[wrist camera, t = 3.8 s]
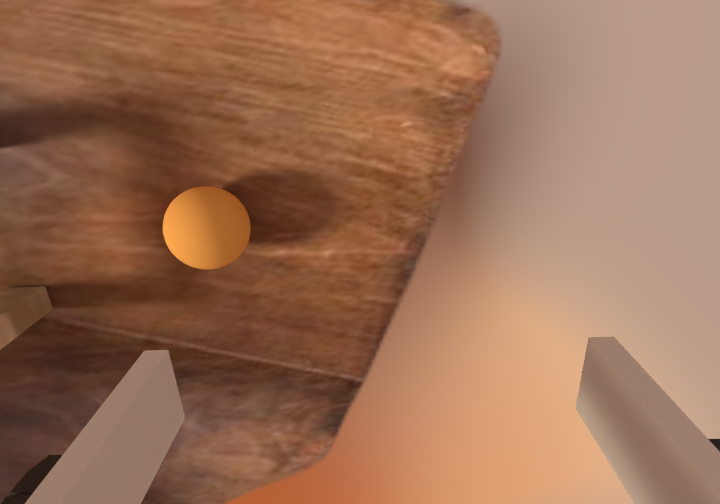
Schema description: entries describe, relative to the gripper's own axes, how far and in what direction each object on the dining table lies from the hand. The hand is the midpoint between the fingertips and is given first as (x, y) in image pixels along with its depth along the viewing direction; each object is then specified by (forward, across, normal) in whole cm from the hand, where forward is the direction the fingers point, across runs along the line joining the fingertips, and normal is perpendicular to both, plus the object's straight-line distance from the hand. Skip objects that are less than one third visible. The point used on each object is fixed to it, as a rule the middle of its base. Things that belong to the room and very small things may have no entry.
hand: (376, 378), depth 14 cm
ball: (+16, +11, 0) cm, 19 cm away
